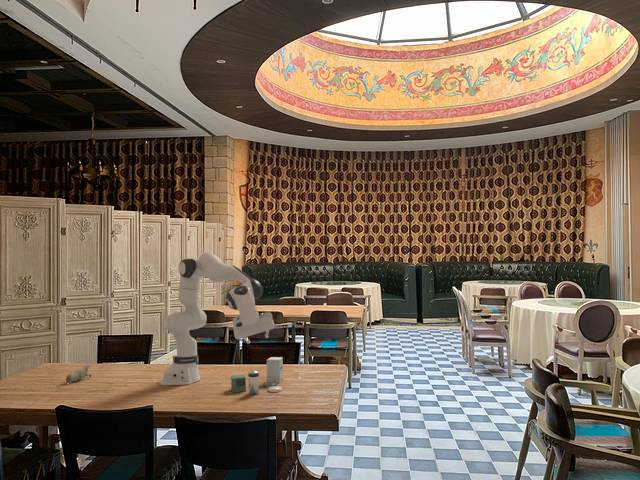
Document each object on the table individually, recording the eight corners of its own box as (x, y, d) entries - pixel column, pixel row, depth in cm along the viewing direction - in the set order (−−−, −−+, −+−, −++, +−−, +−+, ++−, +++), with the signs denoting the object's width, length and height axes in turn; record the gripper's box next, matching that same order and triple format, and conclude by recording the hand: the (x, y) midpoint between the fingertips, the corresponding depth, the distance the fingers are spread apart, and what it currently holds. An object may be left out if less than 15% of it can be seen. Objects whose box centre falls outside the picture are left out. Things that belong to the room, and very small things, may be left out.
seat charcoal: (264, 388, 265) (264, 386, 265) (262, 384, 272) (262, 382, 272) (277, 387, 267) (277, 384, 267) (275, 383, 274) (275, 381, 274)
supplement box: (279, 383, 275) (279, 359, 275) (266, 382, 276) (266, 359, 277) (283, 379, 282) (283, 357, 282) (270, 379, 284) (270, 356, 284)
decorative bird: (63, 384, 284) (63, 371, 284) (86, 377, 299) (85, 364, 299) (70, 385, 282) (70, 371, 282) (93, 378, 297) (93, 365, 297)
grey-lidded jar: (249, 395, 253) (248, 373, 254) (248, 392, 258) (247, 370, 259) (259, 394, 255) (259, 372, 255) (258, 391, 260) (257, 370, 260)
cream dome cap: (269, 392, 257) (269, 390, 257) (267, 389, 264) (267, 386, 264) (282, 391, 259) (282, 389, 259) (280, 388, 265) (280, 385, 265)
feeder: (232, 392, 259) (231, 378, 259) (231, 389, 266) (230, 375, 266) (245, 391, 261) (245, 377, 261) (244, 387, 267) (244, 374, 267)
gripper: (270, 307, 251) (277, 330, 256) (230, 319, 249) (238, 342, 255) (271, 314, 245) (278, 337, 250) (230, 326, 243) (238, 349, 249)
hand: (258, 340), depth 252 cm, fingers open, 8 cm apart
